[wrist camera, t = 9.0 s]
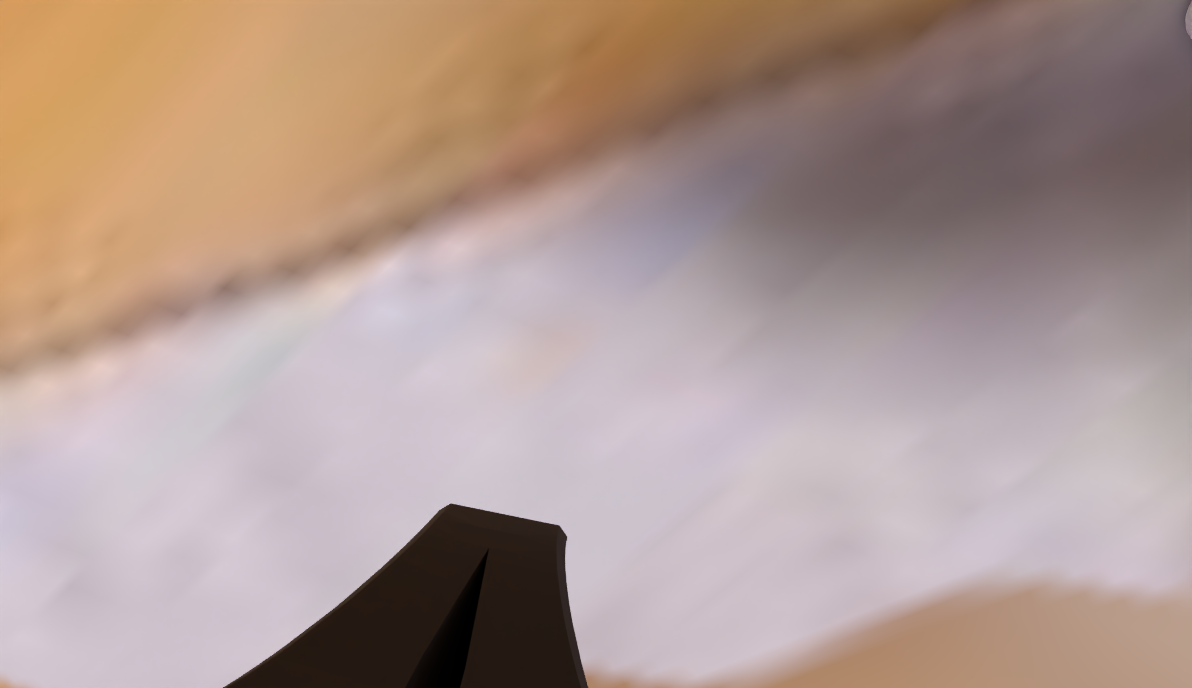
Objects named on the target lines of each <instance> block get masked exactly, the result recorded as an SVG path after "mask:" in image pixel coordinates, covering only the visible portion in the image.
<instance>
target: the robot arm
mask: <svg viewBox="0 0 1192 688" xmlns="http://www.w3.org/2000/svg"><path fill="white" fill-rule="evenodd" d="M1185 24H1186V31H1187V33H1188V34H1189V36H1190V38H1191V39H1192V2H1191V4H1190V5H1189V7H1188V10H1187V13H1186V17H1185ZM566 541H567V536H566V534H565V533H564V532H563V530H562V529H561V527H560V526H559V525H554V524H549V523H544V522H539V521H534V520H529V519H524V518H519V517H514V516H509V515H505V514H500V513H495V512H490V511H485V510H480V509H475V508H470V507H465V506H460V505H455V504H449V505H447V506H446V507H444V508H442V509H441V510H439V511H438V512H437V514H436V515H435V516H434V517H433V518H432V519H431V520H430V521H429V522H428V523H427V524H426V525H425V526H424V527H423V528H422V529H421V530H420V531H419V532H418V533H417V534H416V535H415V536H414V537H413V538H412V539H411V540H410V541H409V542H408V543H407V544H406V545H405V546H404V547H403V548H402V549H401V550H400V551H399V552H398V553H397V554H396V555H395V556H394V557H393V558H392V559H390V560H389V561H388V562H387V563H386V564H385V565H384V566H383V567H382V568H381V569H380V570H378V571H377V572H376V573H375V574H374V575H373V576H372V577H370V578H369V579H368V580H367V581H366V582H365V583H363V584H362V585H361V586H360V587H359V588H358V589H357V590H355V591H354V592H353V593H352V594H351V595H350V596H348V597H347V598H346V599H345V600H344V601H343V602H341V603H340V604H339V605H338V606H337V607H335V608H334V609H333V610H332V611H330V612H329V613H328V614H326V615H325V616H324V617H322V618H321V619H320V620H319V621H317V622H316V623H315V624H313V625H312V626H311V627H309V628H308V629H307V630H305V631H304V632H303V633H301V634H300V635H299V636H298V637H296V638H295V639H294V640H292V641H291V642H290V643H288V644H287V645H286V646H284V647H283V648H282V649H280V650H279V651H278V652H276V653H275V654H273V655H272V656H270V657H269V658H268V659H266V660H265V661H263V662H262V663H260V664H259V665H257V666H256V667H254V668H253V669H251V670H250V671H248V672H247V673H245V674H244V675H242V676H241V677H239V678H238V679H236V680H235V681H233V682H231V683H230V684H228V685H227V686H225V687H223V688H588V686H587V682H586V678H585V675H584V671H583V667H582V664H581V659H580V655H579V650H578V646H577V641H576V637H575V632H574V628H573V623H572V618H571V612H570V606H569V599H568V591H567V583H566V571H565V547H566Z"/></svg>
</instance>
